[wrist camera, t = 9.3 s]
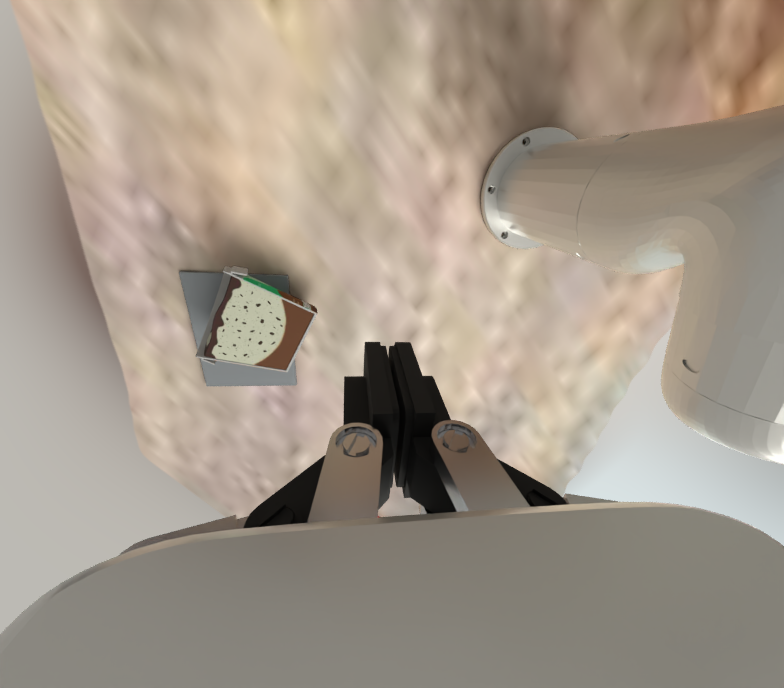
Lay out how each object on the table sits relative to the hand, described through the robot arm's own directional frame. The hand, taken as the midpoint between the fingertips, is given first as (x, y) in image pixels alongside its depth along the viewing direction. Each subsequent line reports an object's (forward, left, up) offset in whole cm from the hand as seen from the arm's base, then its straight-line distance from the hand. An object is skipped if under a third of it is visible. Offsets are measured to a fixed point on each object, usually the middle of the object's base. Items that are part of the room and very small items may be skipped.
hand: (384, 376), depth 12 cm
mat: (+15, +13, -29) cm, 35 cm away
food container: (+7, +11, -27) cm, 30 cm away
